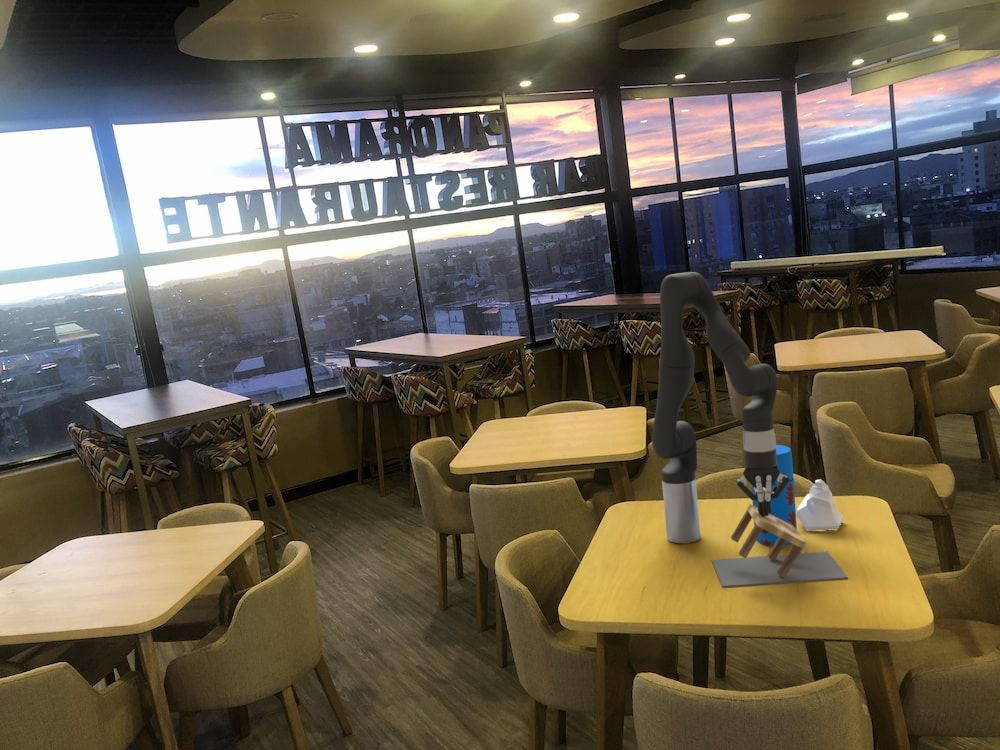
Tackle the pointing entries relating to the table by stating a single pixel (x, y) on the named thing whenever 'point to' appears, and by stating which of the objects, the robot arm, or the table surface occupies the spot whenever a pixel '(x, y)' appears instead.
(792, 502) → the thermos
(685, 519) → the robot arm
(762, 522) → the stool
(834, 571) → the mat
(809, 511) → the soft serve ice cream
